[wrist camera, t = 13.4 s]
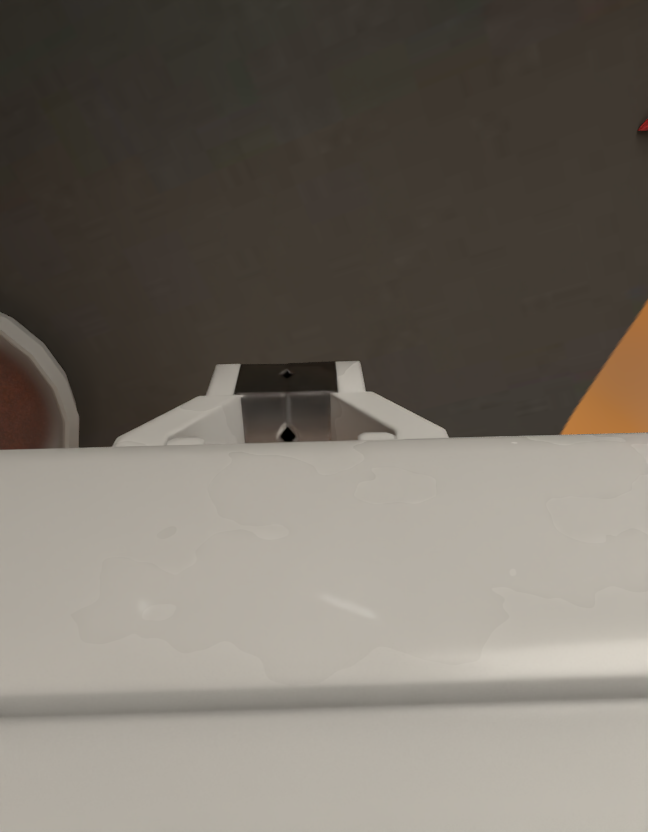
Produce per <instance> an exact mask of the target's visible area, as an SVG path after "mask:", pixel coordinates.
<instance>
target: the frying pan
mask: <svg viewBox="0 0 648 832" xmlns="http://www.w3.org/2000/svg"><path fill="white" fill-rule="evenodd" d="M53 448H79V415H78V412H77V409H76V402H75V399H74V396H73V393H72V390H71V388H70V385H69V382H68V379H67V376H66V373H65V372H64V370H63V369H62V368H61V366H60V365H59V363H58V362H57V361H56V359H55V358H54V357H53V355H52V354H51V352H50V351H49V350H48V348H47V347H46V345H45V344H44V343H43V342H42V341H40V340H39V339H38V338H37V337H36V336H34V335H33V334H32V333H31V332H29V331H28V330H27V329H26V328H25V327H23V326H22V325H21V324H20V323H18V322H17V321H16V320H15V319H14V318H12V317H10V316H8V315H5V314H3V313H1V312H0V450H15V449H53Z"/></svg>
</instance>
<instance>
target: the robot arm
mask: <svg viewBox="0 0 648 832" xmlns="http://www.w3.org/2000/svg"><path fill="white" fill-rule="evenodd" d="M0 832H648V433H616V434H581V435H580V434H577V435H539V436H501V437H462V438H449V437H448V435H447V432H446V430H445V429H443V428H441V427H440V426H438V425H436V424H434V423H432V422H430V421H428V420H426V419H424V418H422V417H420V416H418V415H416V414H414V413H412V412H410V411H408V410H406V409H405V408H403V407H401V406H399V405H397V404H395V403H393V402H391V401H389V400H387V399H385V398H383V397H381V396H379V395H377V394H375V393H373V392H366V391H365V385H364V380H363V375H362V370H361V365H360V362H359V361H345V362H335V361H331V362H309V363H288V364H222V365H216V366H215V369H214V372H213V375H212V378H211V381H210V384H209V387H208V390H207V393H206V396H198V397H196V398H194V399H192V400H190V401H188V402H186V403H184V404H182V405H180V406H178V407H176V408H174V409H173V410H171V411H169V412H167V413H165V414H163V415H161V416H159V417H157V418H155V419H153V420H151V421H149V422H147V423H145V424H143V425H141V426H139V427H137V428H135V429H133V430H131V431H129V432H127V433H125V434H123V435H121V436H119V437H117V439H116V440H115V442H114V444H113V446H112V447H90V448H53V449H15V450H0Z"/></svg>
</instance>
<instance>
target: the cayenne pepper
mask: <svg viewBox="0 0 648 832" xmlns="http://www.w3.org/2000/svg"><path fill="white" fill-rule="evenodd" d="M638 130H639V131H646V130H648V119H647V120H646V121H645V122H644V123H643V124H642V125H641V126H640V128H639V129H638Z"/></svg>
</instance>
